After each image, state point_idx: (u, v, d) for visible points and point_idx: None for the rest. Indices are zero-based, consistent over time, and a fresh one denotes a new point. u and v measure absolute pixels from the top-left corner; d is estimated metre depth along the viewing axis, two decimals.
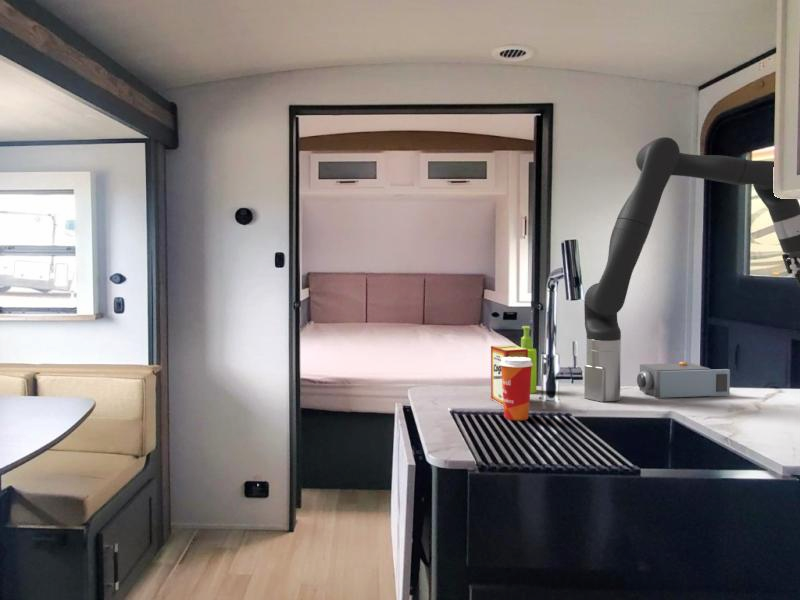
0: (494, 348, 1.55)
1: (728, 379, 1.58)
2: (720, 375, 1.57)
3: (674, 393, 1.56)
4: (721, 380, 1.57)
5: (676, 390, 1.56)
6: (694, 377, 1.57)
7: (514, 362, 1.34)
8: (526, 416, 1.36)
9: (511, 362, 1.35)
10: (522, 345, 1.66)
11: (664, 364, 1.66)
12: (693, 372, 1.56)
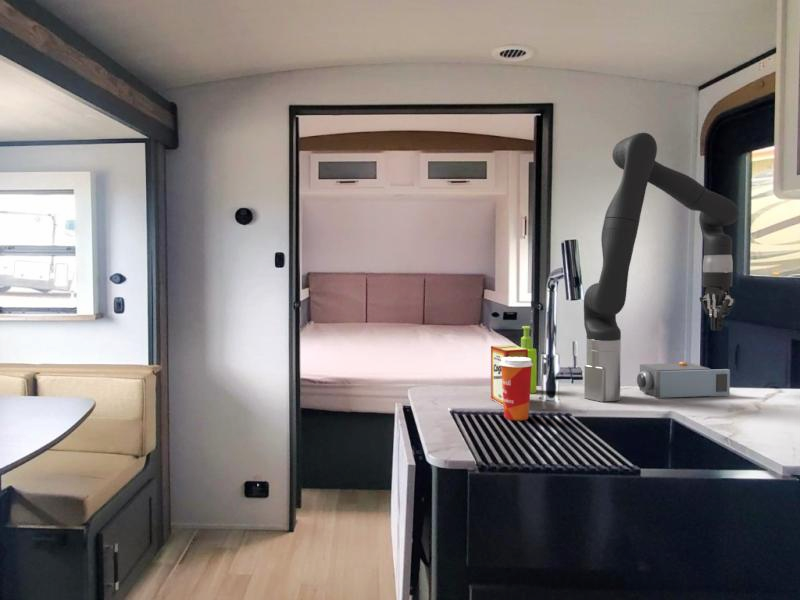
0: (494, 348, 1.54)
1: (728, 379, 1.58)
2: (720, 375, 1.57)
3: (674, 393, 1.56)
4: (721, 380, 1.57)
5: (676, 390, 1.56)
6: (694, 377, 1.57)
7: (514, 362, 1.34)
8: (526, 416, 1.36)
9: (511, 362, 1.35)
10: (522, 345, 1.66)
11: (664, 364, 1.66)
12: (693, 372, 1.56)
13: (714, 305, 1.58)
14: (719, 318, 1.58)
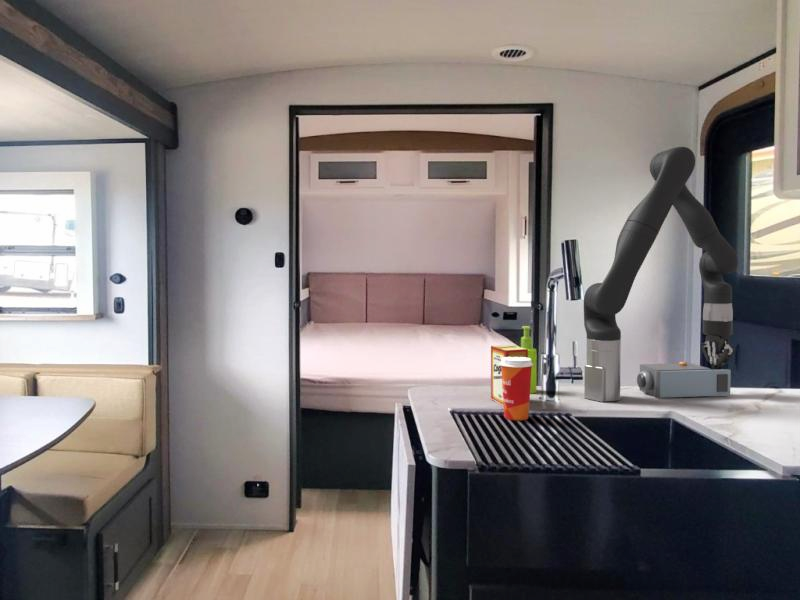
0: (494, 348, 1.55)
1: (729, 379, 1.57)
2: (721, 375, 1.57)
3: (674, 393, 1.56)
4: (722, 380, 1.57)
5: (676, 390, 1.56)
6: (694, 377, 1.56)
7: (514, 362, 1.34)
8: (526, 416, 1.36)
9: (511, 362, 1.35)
10: (522, 345, 1.66)
11: (664, 364, 1.66)
12: (693, 372, 1.56)
13: (714, 353, 1.58)
14: (719, 366, 1.59)
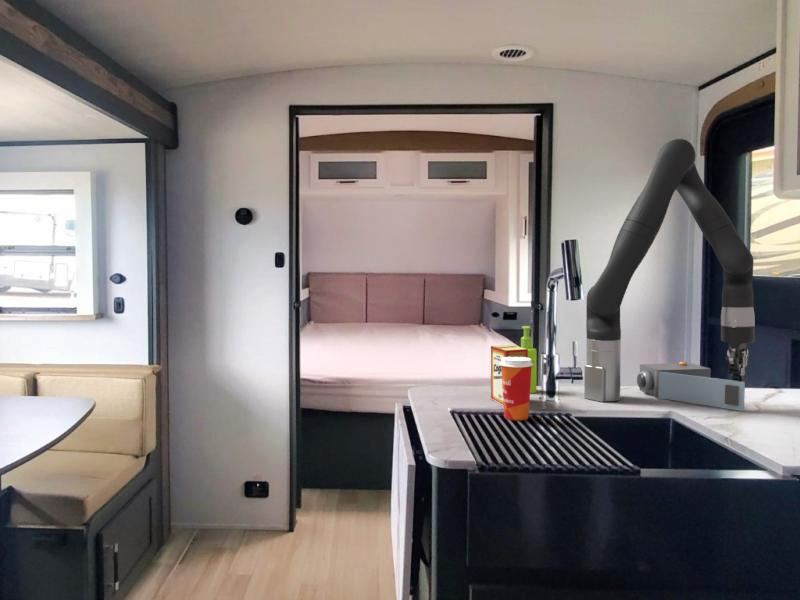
0: (494, 348, 1.55)
1: (741, 393, 1.40)
2: (729, 386, 1.42)
3: (674, 396, 1.52)
4: (730, 391, 1.42)
5: (676, 394, 1.52)
6: (697, 383, 1.48)
7: (514, 362, 1.34)
8: (526, 416, 1.36)
9: (511, 362, 1.35)
10: (522, 345, 1.66)
11: (664, 364, 1.66)
12: (696, 378, 1.48)
13: None
14: (735, 376, 1.43)
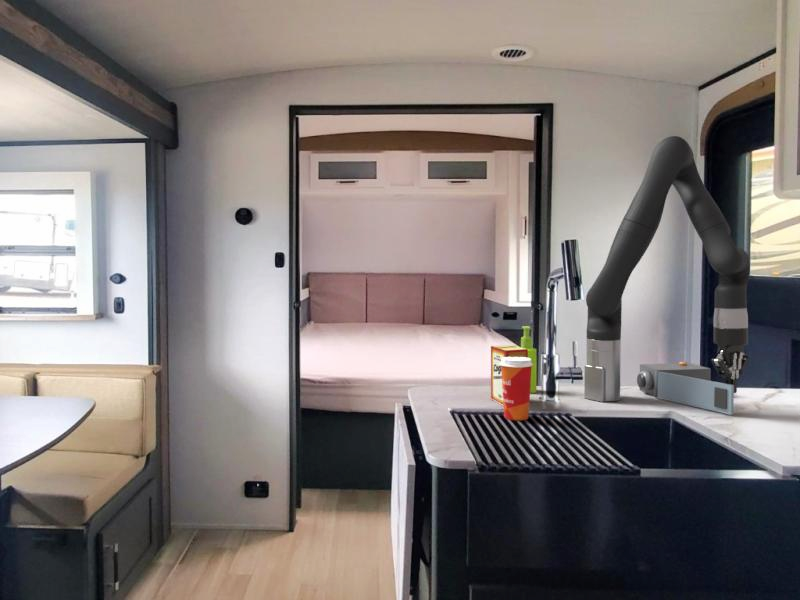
0: (494, 348, 1.54)
1: (729, 396, 1.37)
2: (718, 389, 1.39)
3: (671, 396, 1.52)
4: (719, 394, 1.39)
5: (672, 394, 1.51)
6: (691, 385, 1.46)
7: (514, 362, 1.34)
8: (526, 416, 1.36)
9: (511, 362, 1.35)
10: (522, 345, 1.66)
11: (664, 364, 1.66)
12: (690, 379, 1.46)
13: None
14: (726, 379, 1.39)
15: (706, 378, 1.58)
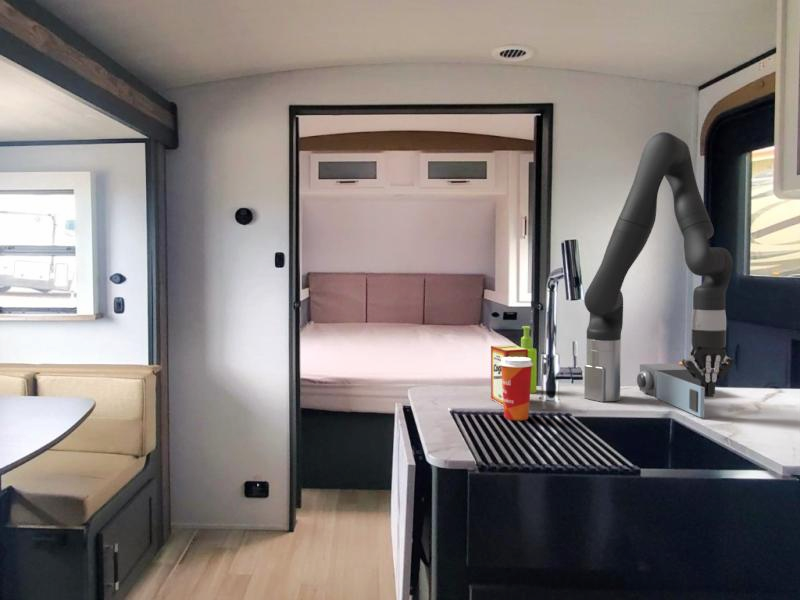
0: (494, 348, 1.54)
1: (699, 398, 1.35)
2: (691, 391, 1.38)
3: (664, 397, 1.51)
4: (692, 396, 1.37)
5: (665, 395, 1.51)
6: (676, 386, 1.45)
7: (514, 362, 1.34)
8: (526, 416, 1.36)
9: (511, 362, 1.35)
10: (522, 345, 1.66)
11: (664, 364, 1.66)
12: (675, 380, 1.46)
13: None
14: (702, 382, 1.37)
15: None
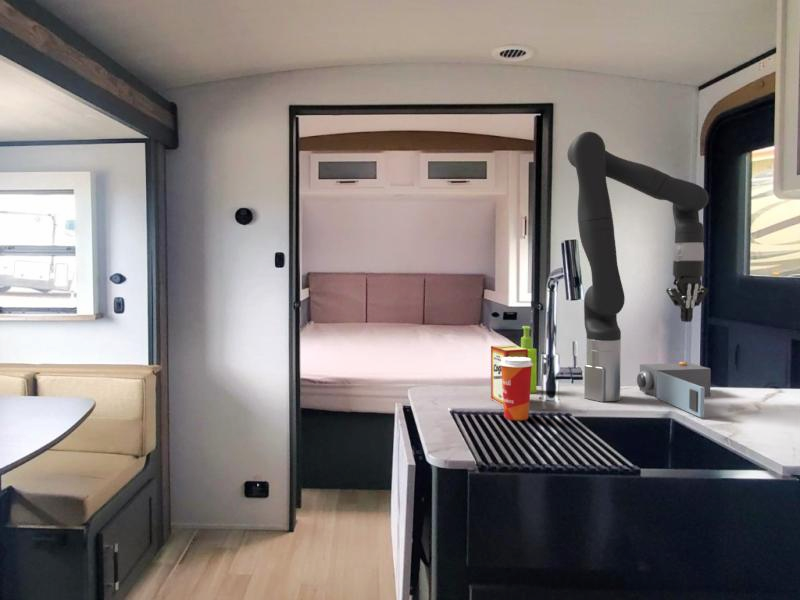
0: (494, 348, 1.55)
1: (699, 398, 1.35)
2: (691, 391, 1.38)
3: (664, 397, 1.51)
4: (692, 396, 1.37)
5: (665, 395, 1.51)
6: (676, 386, 1.45)
7: (514, 362, 1.34)
8: (526, 416, 1.36)
9: (511, 362, 1.35)
10: (522, 345, 1.66)
11: (664, 364, 1.66)
12: (675, 380, 1.46)
13: None
14: (682, 308, 1.52)
15: (706, 378, 1.58)
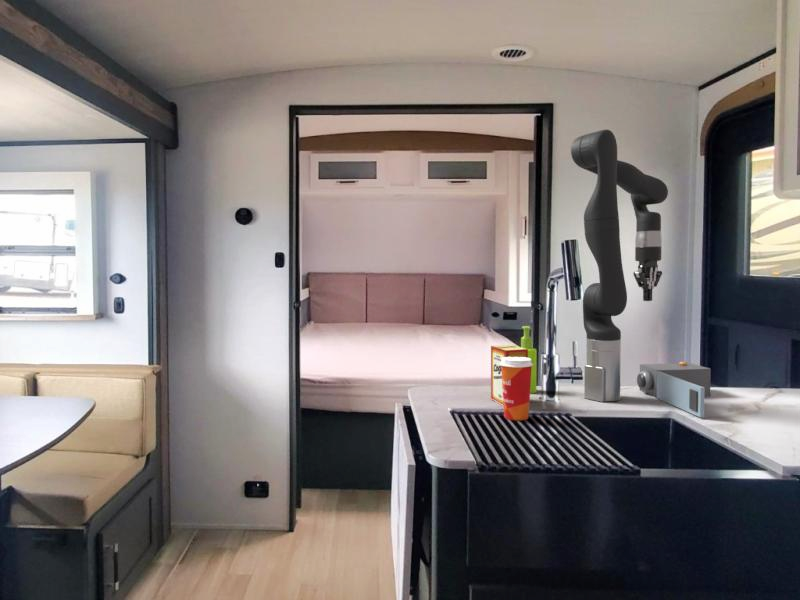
0: (494, 348, 1.55)
1: (699, 398, 1.35)
2: (691, 391, 1.38)
3: (664, 397, 1.51)
4: (692, 396, 1.37)
5: (665, 395, 1.51)
6: (676, 386, 1.45)
7: (514, 362, 1.34)
8: (526, 416, 1.36)
9: (511, 362, 1.35)
10: (522, 345, 1.66)
11: (664, 364, 1.66)
12: (675, 380, 1.46)
13: None
14: (644, 289, 1.72)
15: (706, 378, 1.58)
